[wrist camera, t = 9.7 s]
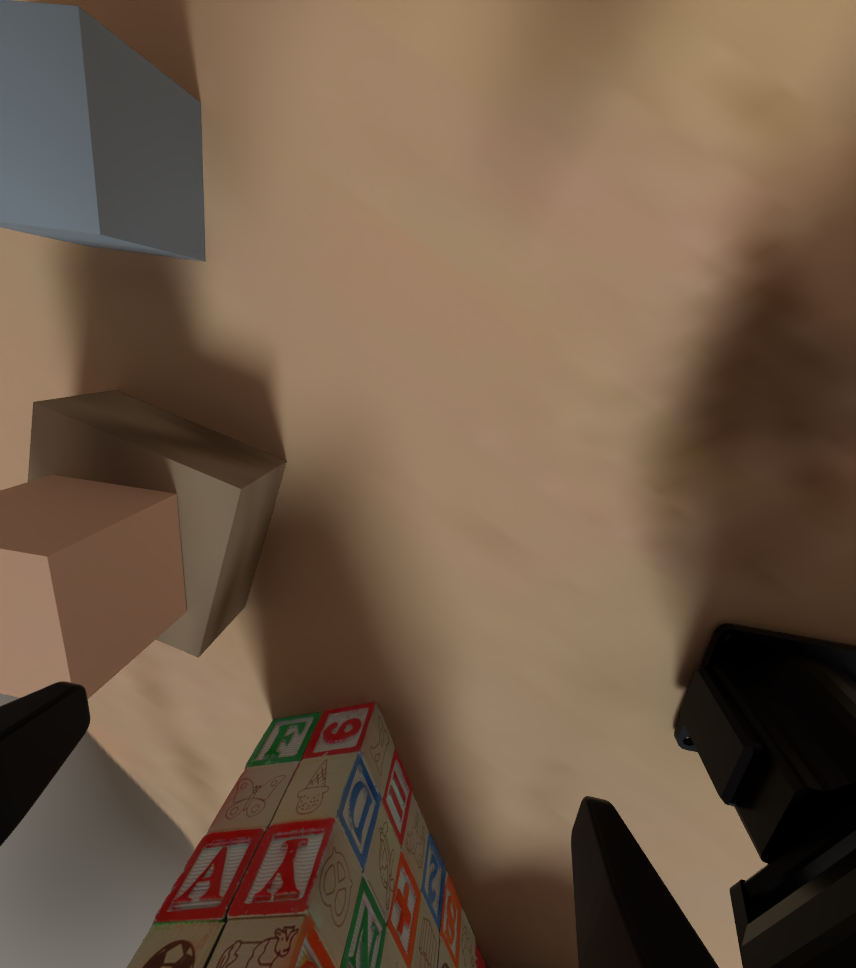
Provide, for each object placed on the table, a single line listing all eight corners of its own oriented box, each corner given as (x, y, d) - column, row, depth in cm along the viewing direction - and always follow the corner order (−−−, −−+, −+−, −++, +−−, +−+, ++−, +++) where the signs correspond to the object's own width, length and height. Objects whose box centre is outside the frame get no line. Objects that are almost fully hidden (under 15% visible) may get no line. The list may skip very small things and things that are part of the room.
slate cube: (202, 103, 16) (78, 5, 11) (206, 261, 17) (100, 234, 13) (71, 91, 16) (-102, -9, 12) (87, 246, 18) (-59, 214, 13)
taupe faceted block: (289, 459, 20) (240, 489, 16) (248, 603, 22) (198, 657, 19) (121, 389, 20) (33, 402, 16) (100, 540, 23) (20, 582, 19)
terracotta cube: (176, 493, 16) (46, 556, 12) (186, 611, 18) (76, 709, 13) (52, 474, 17) (-120, 527, 12) (72, 591, 18) (-73, 677, 14)
